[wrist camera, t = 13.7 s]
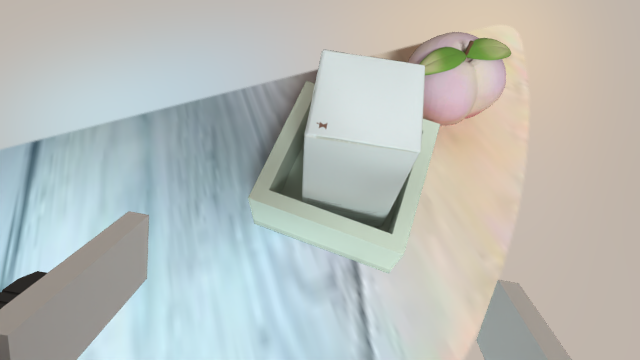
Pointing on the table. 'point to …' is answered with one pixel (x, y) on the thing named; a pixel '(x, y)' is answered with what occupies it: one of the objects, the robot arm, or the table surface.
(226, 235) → the table surface
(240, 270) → the table surface
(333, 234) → the open square container
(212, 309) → the table surface
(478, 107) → the decorative fruit
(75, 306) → the robot arm
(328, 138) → the supplement box
